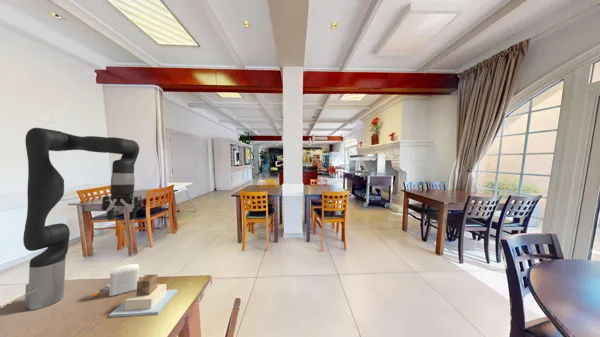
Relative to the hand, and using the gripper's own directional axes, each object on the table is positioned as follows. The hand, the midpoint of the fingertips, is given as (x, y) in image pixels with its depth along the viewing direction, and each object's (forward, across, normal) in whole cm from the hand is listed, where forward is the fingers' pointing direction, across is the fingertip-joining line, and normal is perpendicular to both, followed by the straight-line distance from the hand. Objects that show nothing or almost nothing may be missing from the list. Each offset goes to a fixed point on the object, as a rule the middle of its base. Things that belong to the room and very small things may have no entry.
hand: (121, 219), depth 80 cm
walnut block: (+31, +13, -2) cm, 34 cm away
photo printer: (+36, -3, +7) cm, 37 cm away
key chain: (+37, -14, +7) cm, 40 cm away
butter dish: (+36, +13, -2) cm, 38 cm away
